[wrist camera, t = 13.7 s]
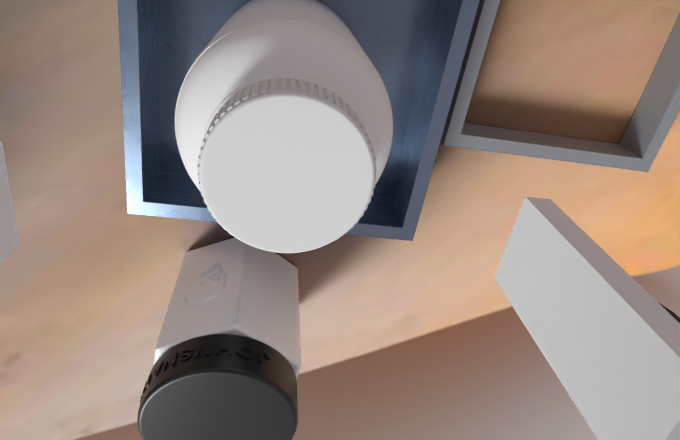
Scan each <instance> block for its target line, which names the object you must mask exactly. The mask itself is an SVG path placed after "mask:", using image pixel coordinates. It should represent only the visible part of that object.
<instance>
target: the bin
mask: <svg viewBox="0 0 680 440" xmlns="http://www.w3.org/2000/svg"><path fill="white" fill-rule="evenodd" d="M250 1H252V0H118V16H119V37H120V59H121V81H122V102H123V124H124V146H125V168H126V189H127V211H128V213H129V214H139V215H150V216H160V217H171V218H181V219H191V220H202V221H212V222H217V220H216V219H215V218H213V216H212V215H211V214H212V213H211V212H210V211H209V210H208V209H207V205H206V204H205V203H204V201H203V199H204V197H202V195H201V192H200V191H199V189H198V188H197V187H196V185H195V184H194V182H193V181H192V179H191V178H190V176H189V174H188V172H187V170H186V168H185V166H184V164H183V161H182V158H181V156H180V152H179V149H178V145H177V140H176V134H175V109H176V103H177V98H178V95H179V91H180V88H181V86H182V83H183V81H184V78H185V76H186V74H187V73H188V71H189V69H190V67H191V66H192V64H193V63H194V61H195V60H196V58H197V57H198V56H199V55H200V53H201V52H202V51H203V50H204V49H205V47H206V46H207V45H208V44H209V42H210V41H211V40H212V39H213V38H214V36H215V35H216V34H217V33H218V31H219V30H220V29H221V28H222V27H223V25H224V24H225V23H226V22H227V20H228V19H229V18H230V17H231V16H232V15H233V14H234V13H235V12H236V11H237V10H238V9H239V8H241V7H242V6H243V5H245V4H246V3H248V2H250ZM317 1H319V2H321V3H323V4H324V5H326V6H327V7H329V8H330V9H331V10H333V11H334V12H335V13H336V14H337V15H338V16H339V17H340V18H341V19H342V20H343V22H344V23H345V24H346V26H347V27H348V29H349V30H350V31H351V33H352V34H353V36H354V37H355V39H356V40H357V42H358V43H359V45H360V46H361V48H362V49H363V51H364V52H365V53H366V55H367V56H368V58H369V59H370V61H371V62H372V64H373V65H374V67H375V68H376V70H377V72H378V73H379V75H380V77H381V79H382V81H383V83H384V86H385V88H386V91H387V94H388V97H389V100H390V104H391V109H392V116H393V137H392V144H391V149H390V153H389V156H388V159H387V162H386V165H385V168H384V170H383V172H382V174H381V176H380V178H379V180H378V181H377V183H376V185H375V189H373V191H374V193H373V196H371V201H370V204H368V208H367V209H366V211H364V214H363V216H362V217H360V219H359V221H358V222H357V223H356V224H355V225H354V226H353V227H352V228H351V229H350V230H349V231H348V232H347V233H345V234H347V235H358V236H368V237H378V238H389V239H399V240H409V241H413V238H414V234H415V230H416V227H417V223H418V220H419V216H420V212H421V209H422V205H423V202H424V198H425V195H426V191H427V187H428V184H429V180H430V177H431V173H432V169H433V166H434V162H435V159H436V155H437V152H438V148H439V144H440V141H441V137H442V134H443V130H444V126H445V123H446V119H447V116H448V112H449V109H450V105H451V101H452V98H453V94H454V91H455V87H456V83H457V80H458V76H459V73H460V69H461V66H462V62H463V58H464V55H465V51H466V48H467V44H468V40H469V37H470V33H471V30H472V26H473V23H474V19H475V15H476V12H477V8H478V5H479V1H480V0H317Z"/></svg>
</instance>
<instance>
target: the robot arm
mask: <svg viewBox="0 0 680 440" xmlns="http://www.w3.org/2000/svg"><path fill="white" fill-rule="evenodd" d="M18 244H19V238H18V232H17V226H16V220H15V214H14V208H13V203H12V197H11V191H10V185H9V179H8V173H7V167H6V161H5V155H4V149H3V144H2V141H0V265H1V264H2V263H3V262H4V260H5V259H6V258H7V257H8V256H9V254H10V253H11V252H12V251H13V250H14V248H15V247H16V246H17V245H18ZM494 278H495V280H496V281H497V283H498V284H499V286H500V288H501V289H502V291H503V292H504V294H505V295H506V297H507V298H508V300H509V302H510V303H511V305H512V306H513V308H514V309H515V311H516V313H517V314H518V316H519V317H520V319H521V320H522V322H523V323H524V325H525V326H526V328H527V330H528V331H529V333H530V334H531V336H532V337H533V339H534V341H535V342H536V344H537V345H538V347H539V348H540V350H541V352H542V353H543V355H544V356H545V358H546V359H547V361H548V362H549V364H550V366H551V367H552V369H553V370H554V372H555V373H556V375H557V376H558V378H559V379H560V381H561V383H562V384H563V386H564V387H565V389H566V391H567V392H568V394H569V395H570V397H571V398H572V400H573V402H574V403H575V405H576V406H577V408H578V409H579V411H580V412H581V414H582V415H583V417H584V418H585V420H586V422H587V423H588V425H589V426H590V428H591V430H592V431H593V433H594V434H595V436H596V437H597V439H598V440H680V318H679V317H678V316H677V315H676V314H675V313H674V312H672V311H671V310H669V309H668V308H666V307H664V306H663V305H661V304H660V303H658V302H657V301H656V300H655V299H654V298H652V296H651V295H650V294H649V293H647V292H646V291H645V290H644V289H643V288H642V287H641V286H640V285H639V284H638V283H637V282H636V281H635V280H634V279H633V278H632V277H631V276H630V275H629V274H628V273H627V272H626V271H624V270H623V269H622V268H621V267H620V266H619V265H618V264H617V263H616V262H615V261H614V260H613V259H612V258H611V257H610V256H609V255H608V254H607V253H606V252H605V251H604V250H603V249H602V248H600V247H599V246H598V245H597V244H596V243H595V242H594V241H593V240H592V239H591V238H590V237H589V236H588V235H587V234H586V233H585V232H584V231H583V230H582V229H581V228H580V227H579V226H577V225H576V224H575V223H574V222H573V221H572V220H571V219H570V218H569V217H568V216H567V215H566V214H565V213H564V212H563V211H562V210H561V209H560V208H559V207H558V206H557V205H556V204H554V203H553V202H552V201H551V200H550V199H540V198H531V197H525V199H524V202H523V204H522V207H521V209H520V212H519V215H518V217H517V220H516V222H515V225H514V228H513V230H512V233H511V235H510V238H509V241H508V243H507V246H506V248H505V251H504V254H503V256H502V259H501V261H500V264H499V266H498V269H497V272H496V274H495V277H494Z"/></svg>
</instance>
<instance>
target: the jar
mask: <svg viewBox="0 0 680 440" xmlns="http://www.w3.org/2000/svg"><path fill="white" fill-rule="evenodd" d="M300 367H301V346H300V315H299V284H298V269H297V268H296V267H295V266H294V265H292V264H291V263H289V262H288V261H287V260H285V259H284V258H282V257H281V256H279V255H278V254H277V253H275V252H270V251H265V250H262V249H258V248H255V247H253V246H250V245H248V244H246V243H244V242H242V241H240V240H238V239H237V238H231V239H228V240H225V241H221V242H218V243H215V244H211V245H208V246H204V247H201V248H198V249H194V250H191V251H188V252H186V254H185V256H184V259H183V262H182V266H181V269H180V272H179V275H178V278H177V281H176V284H175V287H174V291H173V294H172V297H171V300H170V303H169V306H168V309H167V312H166V316H165V319H164V322H163V325H162V328H161V331H160V334H159V337H158V340H157V344H156V347H155V353H154V364H153V368H152V370H151V373H150V375H149V377H148V380H147V382H146V383H145V387H144V390H143V393H142V396H141V400H140V408H139V411H138V428H139V431H140V434H141V436H142V438H143V440H292V438H293V436H294V435H295V432H296V429H297V424H298V403H297V377H298V374H299V370H300Z"/></svg>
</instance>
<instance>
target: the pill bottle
mask: <svg viewBox="0 0 680 440" xmlns="http://www.w3.org/2000/svg"><path fill="white" fill-rule="evenodd" d="M175 134H176V140H177V145H178V149H179V152H180V156H181V158H182V161H183V164H184V166H185V168H186V170H187V172H188V174H189V176H190V178H191V179H192V181H193V182H194V184H195V185H196V187H197V188H198V189H199V191H200V192H201V195H202V197H204V199H203V201H204V203H205V204H206V205H207V209H208V210H209V211H210V212H211V213H212V214H211V215H212V216H213V218H215V219H216V220H217V222H218V224H219V225H221V226H222V228H224V229H225V230H226V231H228V233H229V234H231V235H233V236H234V237H235V238H237V239H238V240H240V241H242V242H244V243H246V244H248V245H250V246H253V247H255V248H258V249H262V250H265V251H270V252H277V253H299V252H305V251H310V250H314V249H317V248H320V247H323V246H325V245H327V244H329V243H331V242H333V241H335V240H337V239H338V238H340V237H341V236H342V235H344V234H345V233H347V232H348V231H349V230H350V229H351V228H352V227H353V226H354V225H355V224H356V223H357V222H358V221H359V219H360V217H362V216H363V214H364V211H366V209H367V208H368V204H370V201H371V196H373V193H374V191H373V189H375V185H376V183H377V181H378V180H379V178H380V176H381V174H382V172H383V170H384V168H385V165H386V162H387V159H388V156H389V153H390V149H391V144H392V137H393V116H392V109H391V104H390V100H389V97H388V94H387V91H386V88H385V86H384V83H383V81H382V79H381V77H380V75H379V73H378V72H377V70H376V68H375V67H374V65H373V64H372V62H371V61H370V59H369V58H368V56H367V55H366V53H365V52H364V51H363V49H362V48H361V46H360V45H359V43H358V42H357V40H356V39H355V37H354V36H353V34H352V33H351V31H350V30H349V29H348V27H347V26H346V24H345V23H344V22H343V20H342V19H341V18H340V17H339V16H338V15H337V14H336V13H335V12H334V11H333V10H331V9H330V8H329V7H327V6H326V5H324V4H323V3H321V2H319V1H317V0H252V1H250V2H248V3H246V4H245V5H243V6H242V7H241V8H239V9H238V10H237V11H236V12H235V13H234V14H233V15H232V16H231V17H230V18H229V19H228V20H227V22H226V23H225V24H224V25H223V27H222V28H221V29H220V30H219V31H218V33H217V34H216V35H215V36H214V38H213V39H212V40H211V41H210V42H209V44H208V45H207V46H206V47H205V49H204V50H203V51H202V52H201V53H200V55H199V56H198V57H197V58H196V60H195V61H194V63H193V64H192V66H191V67H190V69H189V71H188V73H187V74H186V76H185V78H184V81H183V83H182V86H181V88H180V91H179V95H178V98H177V103H176V109H175Z"/></svg>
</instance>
